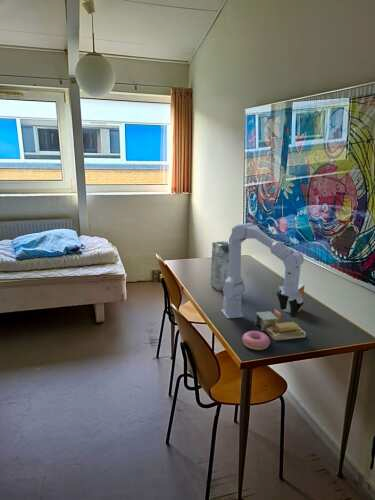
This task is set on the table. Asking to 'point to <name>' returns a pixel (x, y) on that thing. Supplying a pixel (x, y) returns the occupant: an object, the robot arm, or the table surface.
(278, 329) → the olive rectangular pillar
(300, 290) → the small box
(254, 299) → the table surface
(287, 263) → the robot arm
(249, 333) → the doughnut
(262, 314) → the socket sleeve
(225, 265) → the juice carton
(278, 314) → the salmon pink block
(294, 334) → the beige tray
